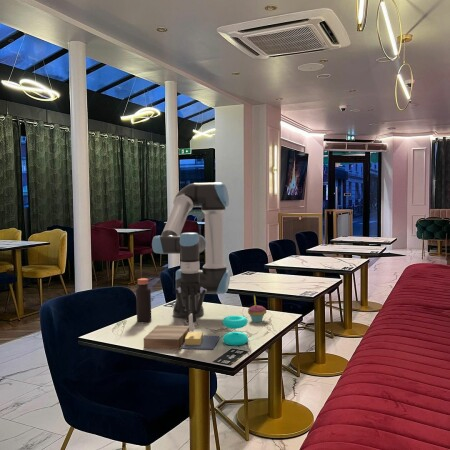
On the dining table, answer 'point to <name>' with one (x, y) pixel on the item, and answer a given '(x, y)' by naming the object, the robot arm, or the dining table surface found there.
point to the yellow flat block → (193, 338)
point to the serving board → (166, 337)
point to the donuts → (235, 323)
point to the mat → (204, 343)
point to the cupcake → (256, 312)
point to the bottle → (143, 301)
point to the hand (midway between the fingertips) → (191, 330)
